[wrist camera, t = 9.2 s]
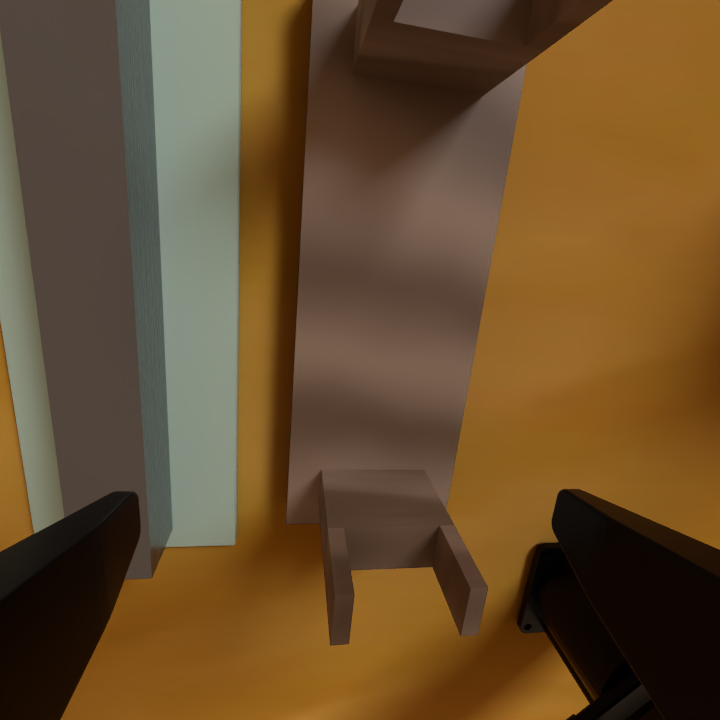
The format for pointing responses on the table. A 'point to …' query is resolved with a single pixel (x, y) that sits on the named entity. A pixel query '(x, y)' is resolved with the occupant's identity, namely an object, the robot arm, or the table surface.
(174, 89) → the rubber mat
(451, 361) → the hook stand
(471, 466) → the table surface
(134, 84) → the hang rail
